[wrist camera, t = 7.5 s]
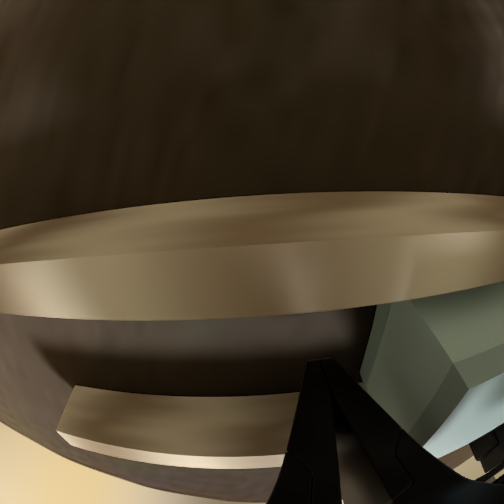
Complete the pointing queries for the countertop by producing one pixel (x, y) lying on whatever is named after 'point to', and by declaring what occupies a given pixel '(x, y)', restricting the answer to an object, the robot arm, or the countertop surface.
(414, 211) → the lane
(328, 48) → the countertop surface
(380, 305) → the pale teal block
